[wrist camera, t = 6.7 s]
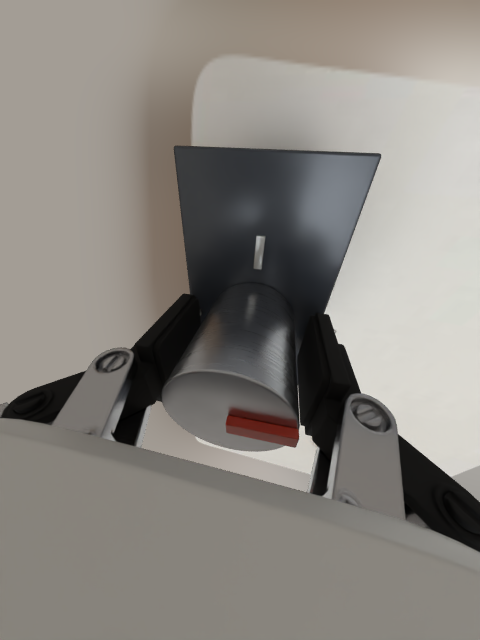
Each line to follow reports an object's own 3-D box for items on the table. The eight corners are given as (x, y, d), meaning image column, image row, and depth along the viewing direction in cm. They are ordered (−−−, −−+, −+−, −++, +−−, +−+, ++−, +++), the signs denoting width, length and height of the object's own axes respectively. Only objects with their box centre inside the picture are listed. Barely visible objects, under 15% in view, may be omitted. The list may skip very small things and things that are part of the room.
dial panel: (230, 167, 17) (149, 143, 7) (334, 172, 15) (414, 153, 6) (228, 306, 25) (189, 385, 15) (296, 316, 24) (302, 409, 14)
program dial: (216, 344, 12) (171, 445, 7) (209, 278, 10) (135, 368, 5) (287, 354, 11) (288, 472, 7) (301, 286, 9) (316, 399, 4)
